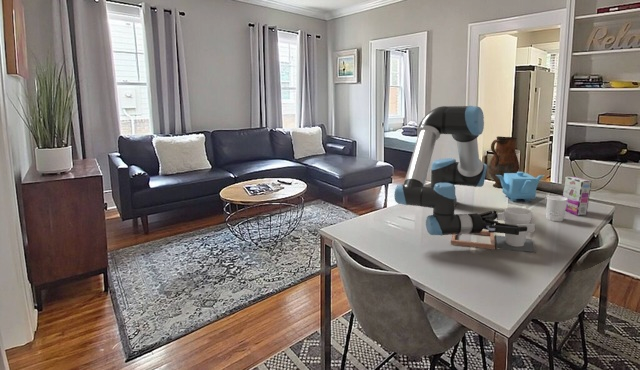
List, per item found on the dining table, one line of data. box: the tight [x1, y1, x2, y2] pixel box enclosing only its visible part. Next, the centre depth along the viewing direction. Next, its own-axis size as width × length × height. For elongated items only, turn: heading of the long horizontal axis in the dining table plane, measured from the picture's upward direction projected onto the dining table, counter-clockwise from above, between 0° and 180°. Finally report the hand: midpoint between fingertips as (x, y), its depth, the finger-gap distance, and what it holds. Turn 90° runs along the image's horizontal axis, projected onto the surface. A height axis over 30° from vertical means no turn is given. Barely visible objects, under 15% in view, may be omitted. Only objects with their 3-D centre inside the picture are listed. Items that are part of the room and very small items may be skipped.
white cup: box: [545, 195, 568, 222], centre depth 172 cm, size 8×8×10 cm
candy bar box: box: [562, 175, 592, 217], centre depth 180 cm, size 11×5×16 cm, turn 5°
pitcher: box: [487, 136, 520, 189], centre depth 229 cm, size 17×21×30 cm
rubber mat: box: [494, 234, 537, 254], centre depth 147 cm, size 13×13×1 cm
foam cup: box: [503, 206, 533, 247], centre depth 145 cm, size 10×9×13 cm
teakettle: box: [496, 171, 546, 202], centre depth 205 cm, size 19×19×15 cm
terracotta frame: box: [450, 229, 496, 250], centre depth 153 cm, size 15×15×2 cm
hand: (523, 221), depth 145 cm, fingers open, 13 cm apart
